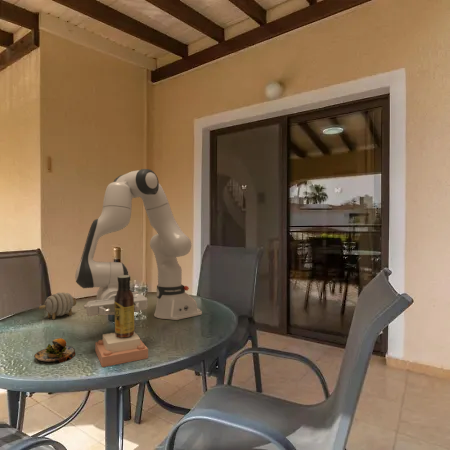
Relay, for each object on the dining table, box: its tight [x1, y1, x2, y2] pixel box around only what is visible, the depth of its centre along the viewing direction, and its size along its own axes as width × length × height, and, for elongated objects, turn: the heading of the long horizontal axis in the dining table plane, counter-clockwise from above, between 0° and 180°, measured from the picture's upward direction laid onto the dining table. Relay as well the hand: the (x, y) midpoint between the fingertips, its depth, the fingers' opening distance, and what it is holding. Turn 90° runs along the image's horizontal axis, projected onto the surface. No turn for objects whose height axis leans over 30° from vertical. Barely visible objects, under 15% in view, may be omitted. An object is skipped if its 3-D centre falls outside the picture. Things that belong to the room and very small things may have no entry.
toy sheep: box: [38, 292, 77, 320], centre depth 150 cm, size 11×17×11 cm, turn 149°
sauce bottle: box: [114, 274, 135, 338], centre depth 108 cm, size 6×6×20 cm
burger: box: [33, 332, 76, 364], centre depth 106 cm, size 12×12×8 cm
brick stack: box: [94, 331, 149, 368], centre depth 108 cm, size 14×14×6 cm
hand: (122, 310), depth 107 cm, fingers open, 8 cm apart
